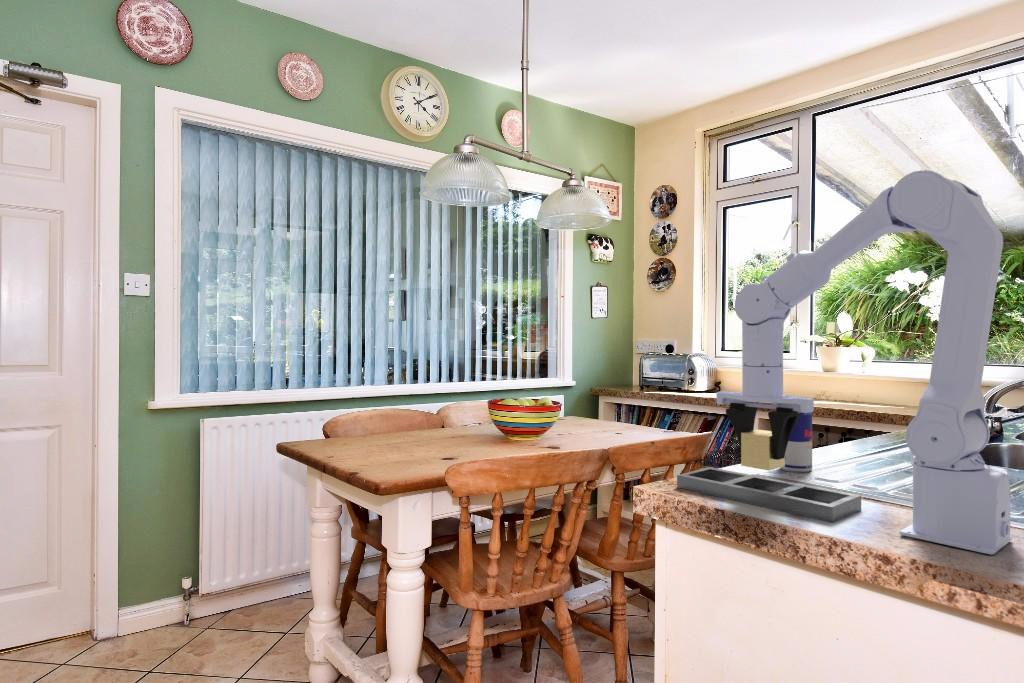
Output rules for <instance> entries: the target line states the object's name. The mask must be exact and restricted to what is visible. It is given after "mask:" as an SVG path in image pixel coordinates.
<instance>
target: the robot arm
mask: <svg viewBox="0 0 1024 683" xmlns="http://www.w3.org/2000/svg"><path fill="white" fill-rule="evenodd" d="M917 229H918V230H920V231H921V232H922V231H923V233H926V234H928V236H929V237H930V238H931V239H932V240H933V241H935V243H937V244H938V245H940V246H941V248H943V249H944V250H945V251H946V252H947V259H946V268H945V273H944V274H945V275H944V281H943V289H942V295H941V301H940V308H939V314H938V322H937V329H936V334H935V335H936V336H935V342H934V349H933V356H932V363H931V369H930V376H929V383H928V385H927V387H926V388H925V390H924V392H923V394H922V395H921V398H920V399H919V403H918V409H917V413H916V414H915V415H914V417H913V418H912V419H911V420H910V422H909V423H908V426H907V427H906V430H905V441H906V445H907V447H908V448H909V450H910V452H911V453H912V454H913V456H912V460H913V462H912V524H910V525H908V526H906V527H904V528H902V529H900V531H899V534H900V535H901V536H904V537H909V538H913V539H917V540H923V541H927V542H932V543H936V544H941V545H946V546H950V547H955V548H959V549H964V550H969V551H972V552H977V553H980V554H981V553H982V554H985V555H986V554H988V555H995V554H996V553H997V552H999V551H1000V550H1001V549H1003V547H1005V546H1006V545H1007V544H1009V543H1010V542H1011V541H1012V540H1013V539H1012V536H1011V484H1010V483H1011V482H1010V479H1009V476H1008V474H1006V473H1005V472H1002V471H997V470H991V469H989V468H986V463H985V462H986V461H985V460H984V459H983V457H982V454H980V452H981V451H983V450H984V449H985V448H986V447H987V445H988V444H989V441H990V437H991V433H990V430H991V429H990V426H989V424H988V422H987V419H986V417H985V407H986V400H985V397H984V393H983V392H982V381H983V375H984V374H983V373H984V367H985V362H986V356H987V348H988V342H989V335H990V329H991V324H992V318H993V310H994V303H995V298H996V297H995V296H996V292H997V291H996V290H997V284H998V280H999V279H998V278H999V272H1000V265H1001V260H1002V255H1003V254H1002V253H1003V246H1004V236H1003V233H1002V231H1000V228H999V227H998V226H997V224H996V222H995V220H994V219H993V216H991V214H990V212H989V211H988V209H987V207H986V205H985V204H984V202H983V198H982V195H980V194H979V193H978V192H976V191H975V190H974V189H971V188H970V187H969V186H967V185H965V184H964V183H963V182H960V181H958V180H955V179H953V180H952V179H950V178H947V177H945V176H944V175H942V174H940V173H938V172H936V171H933V170H930V169H929V170H927V169H921V170H916V171H912V172H910V173H907V174H905V175H904V176H903V177H901V178H900V179H899V180H898V181H897V183H895V185H894V186H889V187H887V188H886V189H884V190H883V191H882V190H881V192H880V193H879V194H878V195H877V196H876V197H875V199H874V200H873V201H872V202H871V203H870V204H869V205H868V206H867V207H866V208H864V209H863V210H862V211H861V212H860V213H858V214H857V215H856V216H854V218H852V220H850V221H849V222H848V223H847V224H845V225H844V226H843V227H842V228H841V229H839V230H838V231H837V232H835V233H834V235H832V236H831V237H830V238H829V239H828V240H826V241H825V242H824V243H823V244H822V245H821V246H819V247H818V248H817V249H816V250H814V251H808V250H801V251H799V252H798V253H796V252H791V253H790V254H789V255H787V256H786V257H785V260H786V262H784V264H782V265H781V266H780V267H779V268H777V269H776V270H774V271H773V272H772V273H770V275H767V274H765V275H764V276H763V277H761V278H760V283H758V284H757V283H751V284H750V283H749V284H746V285H745V286H743V288H742V289H741V290H740V291H739V292H738V293H737V295H736V297H735V300H734V310H735V313H736V316H737V317H738V318H739V319H740V321H742V322H741V323H742V324H741V325H742V326H741V331H742V332H741V334H742V335H741V336H742V337H741V339H742V340H741V341H742V342H741V345H742V347H741V348H742V349H741V350H742V353H741V356H742V357H741V358H742V360H741V361H742V362H741V365H742V366H741V367H742V371H741V372H742V375H741V377H742V379H741V380H742V382H741V383H742V389H741V390H742V391H729V390H728V391H724V390H722V391H717V392H716V405H730V406H729V408H726V409H725V414H726V416H727V418H728V419H729V421H730V423H731V425H732V426H733V429H734V431H735V434H736V438H737V441H738V445H739V448H740V450H741V433H742V432H747V431H752V430H755V429H754V428H755V421H756V420H755V419H756V417H757V416H756V415H757V412H758V408H761V409H769V410H770V409H771V410H773V411H767V416H768V419H769V423H770V431H772V454H773V459H775V460H779V459H783V458H784V457H785V452H786V448H787V444H788V441H789V438H790V436H791V433H792V431H793V429H794V427H795V425H796V423H797V422H798V420H799V418H800V417H801V412H802V413H809V412H812V413H813V412H814V410H815V408H814V406H815V404H814V403H815V400H814V398H813V397H812V398H811V397H802V396H796V395H794V396H793V395H787V394H784V331H785V330H784V328H785V327H784V325H785V324H784V323H785V321H786V320H787V318H788V317H789V316H790V313H791V312H792V309H793V308H795V307H796V306H797V305H798V304H800V303H801V302H803V301H804V300H806V299H807V298H809V297H810V296H811V295H813V294H814V293H816V291H818V290H820V289H821V288H823V287H824V286H825V285H827V284H828V283H829V281H830V277H831V275H832V274H831V272H832V270H833V269H834V268H836V267H837V266H838V265H840V264H842V263H844V262H845V261H846V260H848V259H849V258H851V257H852V256H854V255H855V254H857V253H859V252H860V251H861V250H863V249H865V248H867V247H868V246H869V245H871V244H872V243H873V242H875V241H877V240H879V239H880V238H881V237H883V236H885V235H890V234H891V235H892V234H898V233H908V232H916V231H917ZM764 403H765V404H764ZM780 405H781V406H780ZM798 411H799V412H798Z"/></svg>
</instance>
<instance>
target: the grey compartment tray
mask: <svg viewBox="0 0 1024 683" xmlns="http://www.w3.org/2000/svg"><path fill="white" fill-rule="evenodd" d="M676 488H677V489H682V490H687V491H690V492H696V493H700V494H705V495H710V496H714V497H718V498H723V499H726V500H732V501H736V502H741V503H745V504H748V503H749V505H753V506H758V507H763V508H767V509H772V510H775V511H780V512H786V513H789V514H793V513H794V515H799V516H803V517H807V518H812V519H816V520H820V521H823V522H824V521H826V522H829V523H834V522H836V521H838V520H841V519H843V518H846V517H848V516H850V515H853V514H854V513H856V512H859V511H861V510H862V495H861V494H857V493H856V494H855V493H849V492H846V491H840V490H839V491H838V490H834V489H830V488H829V489H828V488H824V487H818V486H813V485H807V484H802V483H797V482H792V481H786V480H780V479H775V478H770V477H764V476H759V475H754V474H749V473H743V472H737V471H732V470H727V469H722V468H717V467H710V466H707V467H704V468H699V469H696V470H692V471H691V470H690V471H688V472H684V473H680V474H676Z"/></svg>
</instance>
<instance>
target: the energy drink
mask: <svg viewBox="0 0 1024 683" xmlns="http://www.w3.org/2000/svg"><path fill="white" fill-rule="evenodd" d="M779 406H781V405H779ZM798 412H799V411H798ZM779 469H781V470H782V471H785V472H789V473H798V472H804V473H810V472H811V471H812V470H813V412H809V413H802V412H801V417H800V418H799V420H798V422H797V423H796V425H795V427H794V429H793V431H792V433H791V436H790V438H789V441H788V444H787V448H786V452H785V466H784V467H780V468H779ZM809 471H810V472H809Z"/></svg>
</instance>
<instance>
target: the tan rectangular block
mask: <svg viewBox="0 0 1024 683" xmlns="http://www.w3.org/2000/svg"><path fill="white" fill-rule="evenodd" d="M740 454H741V455H740V456H741V457H740V460H741V461H740V465H741V466H742V467H748V468H753V469H757V470H758V469H760V470H764V471H772V470H773V471H774V470H776V469H781V468H780V467H784V466H785V457H784V458H783V459H779V460H775V459H773V454H772V431H771V430H765V429H764V430H763V429H754V430H752V431H747V432H742V433H741V449H740Z"/></svg>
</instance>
